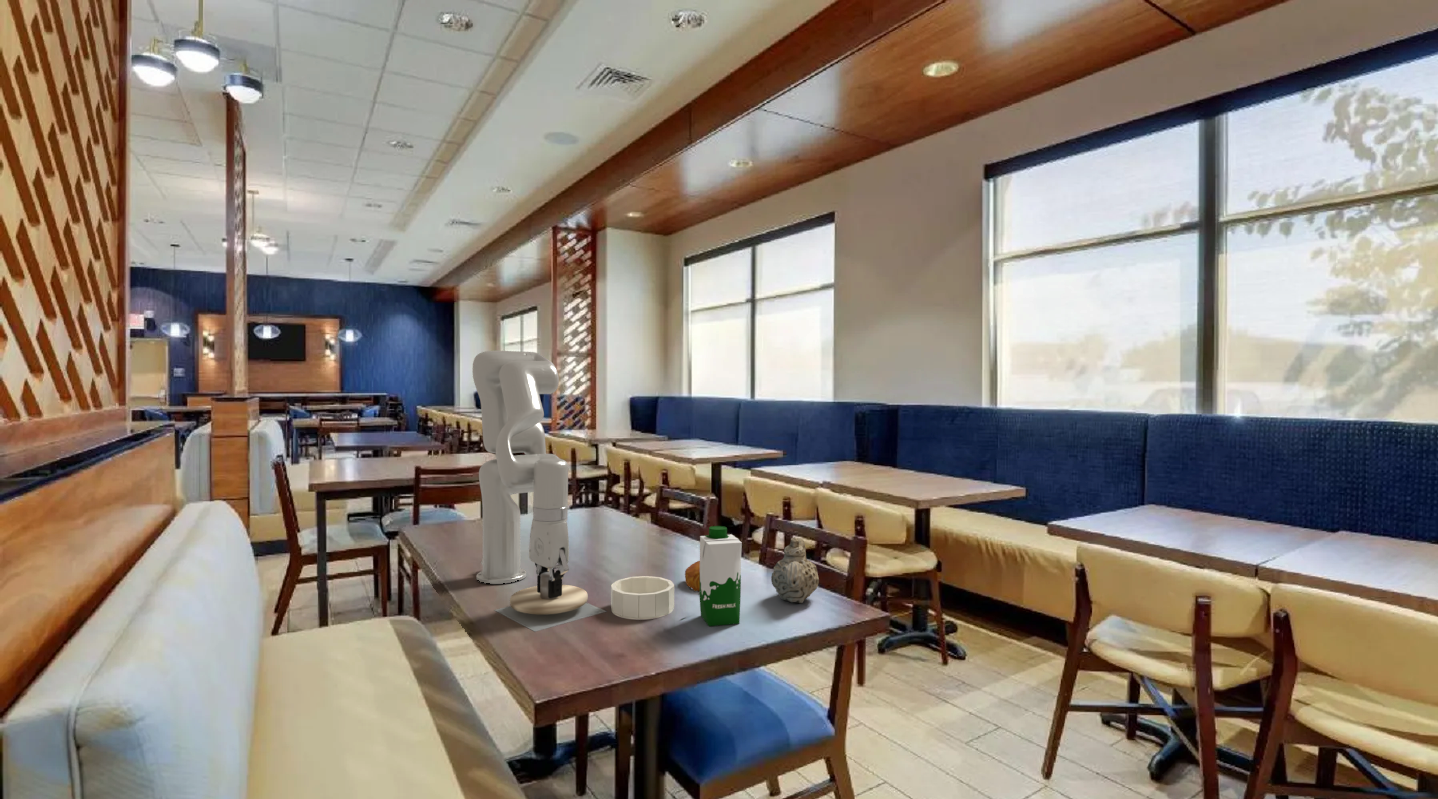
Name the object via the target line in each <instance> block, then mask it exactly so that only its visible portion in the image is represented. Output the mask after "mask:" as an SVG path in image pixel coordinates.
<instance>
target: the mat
mask: <svg viewBox="0 0 1438 799" xmlns="http://www.w3.org/2000/svg"><path fill="white" fill-rule="evenodd" d="M494 612H497V613H498V614H500V615H502V616H504V617H506V618H508V619H510V620H512V621H514V622H516V623H517V624H519V625H521V626H523V627H525V628H527V629H529V630H530V631H533V632H534V633H536V632H539V631H543V630H547V629H549V628H554V627H558V626H561V625H564V624H568V623H571V622H575V621H578V620H582V619H586V618H590V617H592V616H596V615H600V614H603V613H607V612H608V611H607V610H605V609H602V608H600V607H598V606H596V605H592V604H591V603H589V602H586V603H585V604H584V605H583V606H581V607H579V608H577V609H575V610H571V611H568V612H563V613H557V614H528V613H523V612H519V611H517V610H515V609H513V608H512V607H511V606H510V605H509V606H506V607H502V608H497V609H494Z"/></svg>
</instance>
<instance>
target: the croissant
mask: <svg viewBox="0 0 1438 799" xmlns="http://www.w3.org/2000/svg"><path fill="white" fill-rule="evenodd" d="M684 578H685V584H686V585H687V587H689V588H690V589H692V590H693V591H697V592H699V588H700V560H697V561H695V562H694V563H692V564H690V565H689V566H688V567H687V568H685V570H684Z"/></svg>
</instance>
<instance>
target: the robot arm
mask: <svg viewBox="0 0 1438 799" xmlns="http://www.w3.org/2000/svg"><path fill="white" fill-rule="evenodd" d="M472 362H473V363H472V378H473V384H474V386H475V389H476V392H477V394H478V398H479V400H480V408H481V409H480V410H481V426H482V427H481V428H482V441H483V446H484V449H485V450H486V451H487V452H488V453H490V454H495V459H490V460H487V461H485V462H484V463H482V465H481V466H480V468H479V470H478V480H479V487H480V492H481V501H482V502H481V503H482V560H481V561H480V564H481V565H482V570H481V571H479V572H478V573H477V574H476V581H477V580H479V581H480V582H479V581H478V582H479V583H481V582H484V583H483V584H486V583H490V584H489V585H504V584H503V583H505V584H509V583H510V584H511V582H512V583H516V582H518V581H517V580H519V581H521V580H524V579H525V578H526V577H527V571H526V570H525V569H524V568H521V509H520V507H519V506H518V503H516V501H515V500H513V498H512V495H517V494H526V493H533V500H532V502H533V503H532V505H533V507H532V512H533V513H532V520H531V526H530V533H529V544H528V546H529V547H528V549H529V550H528V558H529V560H530V561H531V562H532V563H534V565H535V568H536V569H535V574H536V576H537V577H536V578H537V580H536V584H537V585H536V586H537V592H538V593H540V575H541V574H542V573H545V572H550V580H548V597H549V598H554V597H558V596H561V595H562V585H563V579H564V575H565V574H566V573H567V572H569V570H570V567H569V564H568V563H569V560H570V559H569V558H570V544H569V542H570V541H569V540H570V539H569V538H570V536H569V528H568V514H569V513H568V506H569V505H568V504H569V502H568V501H569V499H568V498H569V464H568V462H567V461H566V460H564V459H562V458H560V457H558V455H556V454H553V453H547V449H546V448H547V447H546V437H545V429H544V427H543V426H544V425H543V424H542V422H541V421H543V419H544V416H545V413H544V408H543V403H542V401H541V396H540V395H551V394H554V393H556V391H557V389H558V388H559V383H560V377H559V373H558V370H557V367H556V366H555V364H554V363H553V361H551V360H549V359H548V358H547V357H545V356H543V355H542V354H541V353H539V352H535V351H517V350H515V351H514V350H513V351H512V350H486V351H481V352H480V353H477V355H476V356H475V357H474V358H473V361H472ZM516 453H524V454H520V455H514V454H516ZM555 569H557V570H555ZM554 572H555V573H554ZM515 581H516V582H515Z"/></svg>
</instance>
